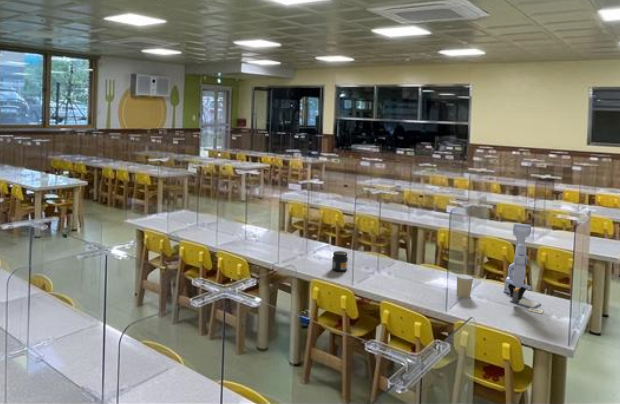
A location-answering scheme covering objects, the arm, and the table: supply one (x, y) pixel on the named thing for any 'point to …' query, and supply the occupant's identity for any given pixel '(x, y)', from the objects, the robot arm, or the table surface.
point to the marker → (515, 295)
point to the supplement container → (339, 261)
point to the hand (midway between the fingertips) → (516, 298)
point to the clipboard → (528, 303)
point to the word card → (535, 310)
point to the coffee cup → (464, 285)
